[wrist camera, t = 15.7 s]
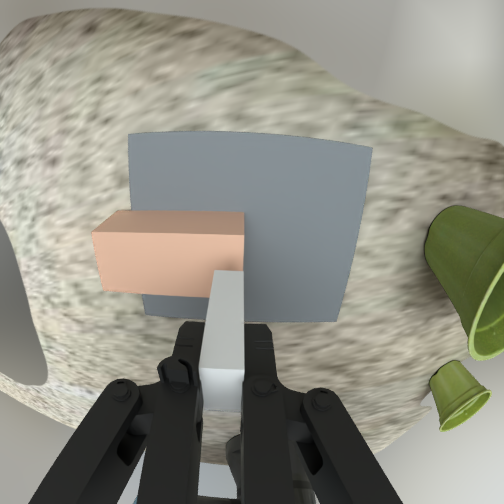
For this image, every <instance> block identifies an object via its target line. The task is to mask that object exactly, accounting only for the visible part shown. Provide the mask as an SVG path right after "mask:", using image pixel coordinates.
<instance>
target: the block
mask: <svg viewBox="0 0 504 504" xmlns="http://www.w3.org/2000/svg"><path fill="white" fill-rule="evenodd" d="M91 234H92V239H93V245H94V250H95V255H96V260H97V265H98V270H99V274H100V279H101V283H102V287H103V291H114V292H126V293H138V294H152V295H168V296H186V297H207V298H210V293H211V287H212V281H213V275H214V270H227V271H243V256H244V212H226V211H167V210H139V211H116V212H115V213H114V214H113V215H111V216H110V217H109V218H108V219H106V220H105V221H104V222H103V223H102V224H100V225H99V226H98V227H97V228H96V229H94V230H93V231H92V232H91Z"/></svg>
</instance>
